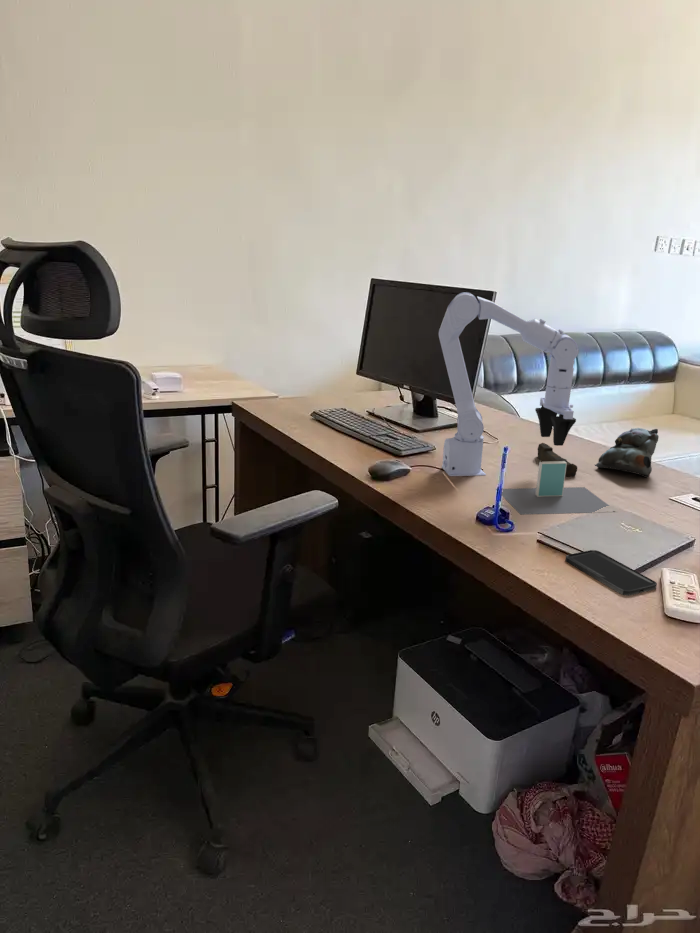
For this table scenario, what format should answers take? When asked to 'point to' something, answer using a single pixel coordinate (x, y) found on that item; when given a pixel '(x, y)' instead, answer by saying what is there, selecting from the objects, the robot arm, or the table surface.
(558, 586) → the table surface
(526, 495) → the mat
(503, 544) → the table surface
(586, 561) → the phone
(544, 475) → the tile
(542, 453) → the hand tool
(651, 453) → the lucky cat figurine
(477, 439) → the robot arm
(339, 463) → the table surface
